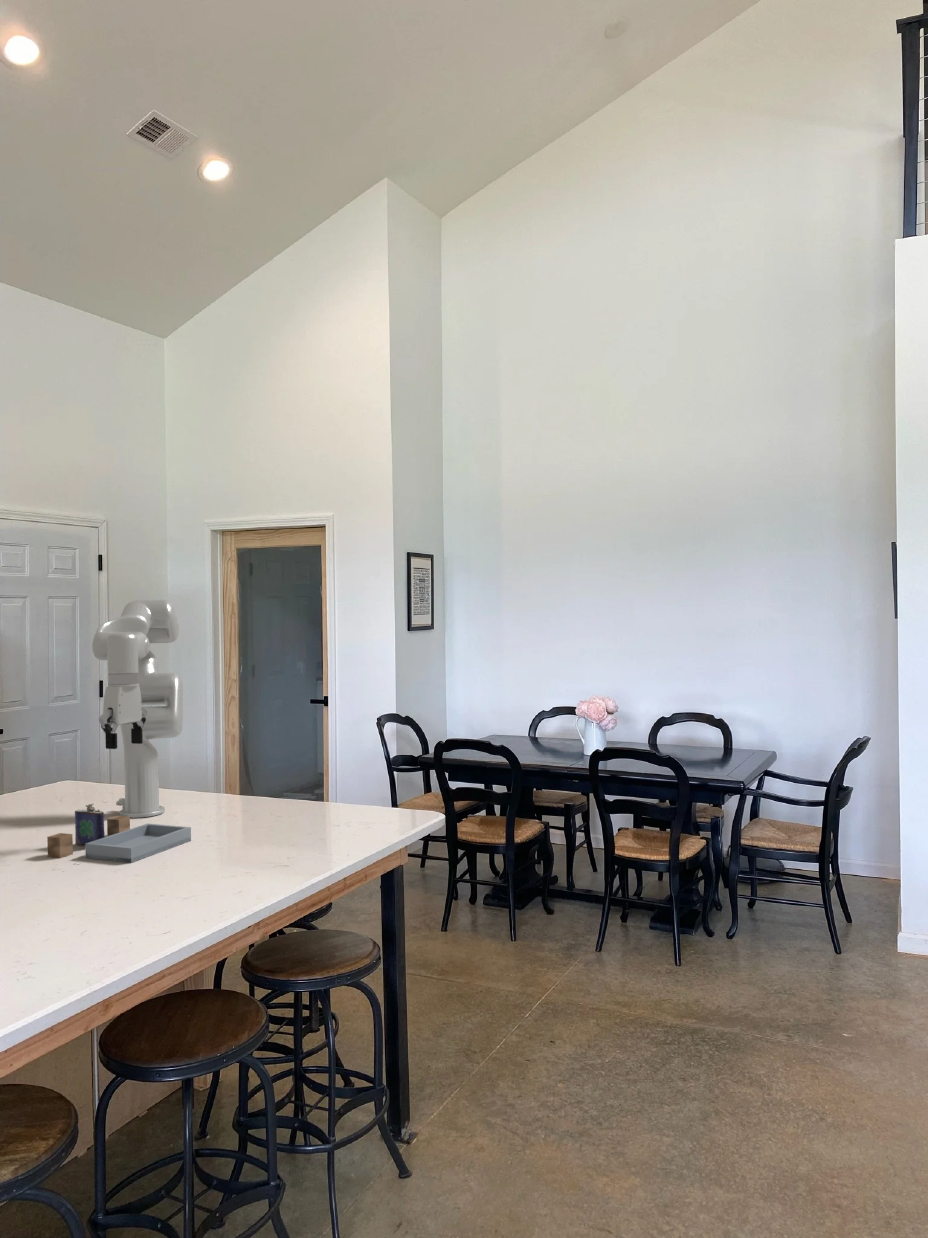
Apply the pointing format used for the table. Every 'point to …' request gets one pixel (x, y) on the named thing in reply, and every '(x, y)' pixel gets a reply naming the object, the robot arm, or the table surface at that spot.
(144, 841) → the tray
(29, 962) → the table surface
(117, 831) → the walnut block far
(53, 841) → the walnut block near
